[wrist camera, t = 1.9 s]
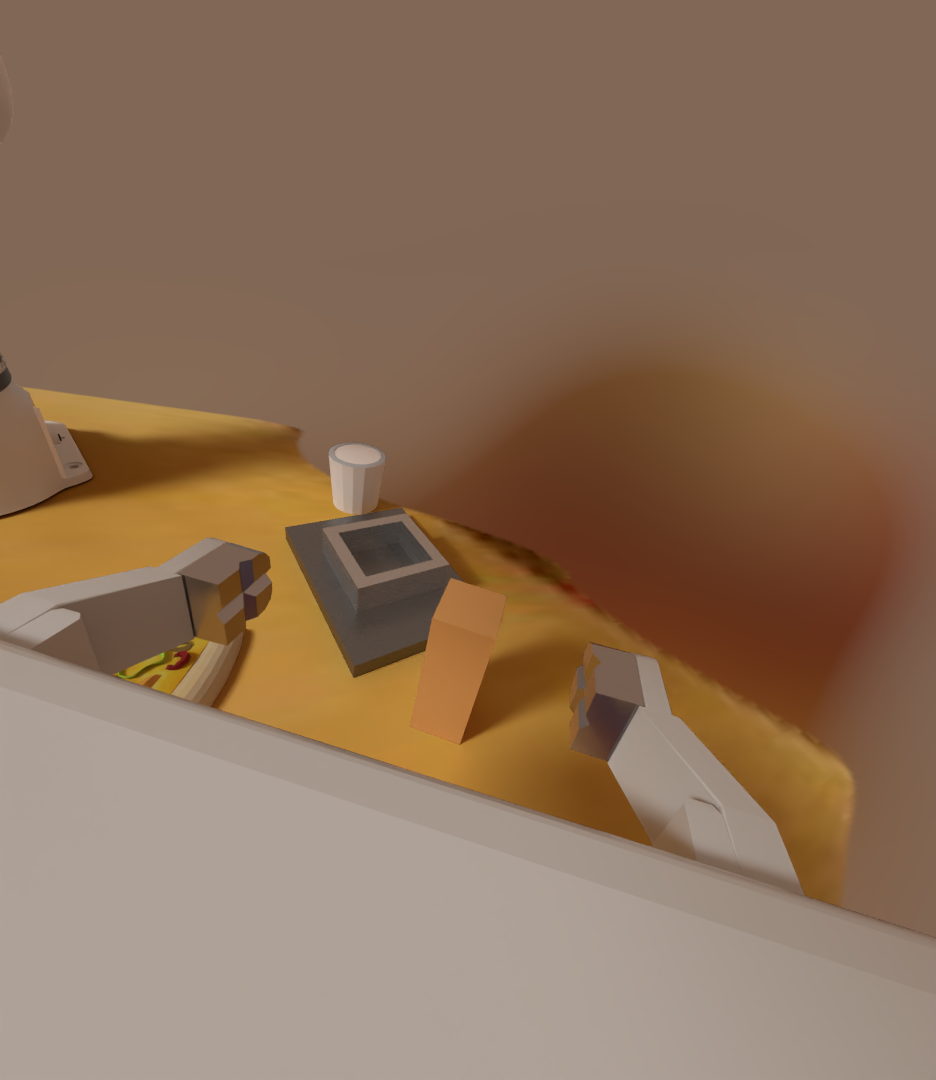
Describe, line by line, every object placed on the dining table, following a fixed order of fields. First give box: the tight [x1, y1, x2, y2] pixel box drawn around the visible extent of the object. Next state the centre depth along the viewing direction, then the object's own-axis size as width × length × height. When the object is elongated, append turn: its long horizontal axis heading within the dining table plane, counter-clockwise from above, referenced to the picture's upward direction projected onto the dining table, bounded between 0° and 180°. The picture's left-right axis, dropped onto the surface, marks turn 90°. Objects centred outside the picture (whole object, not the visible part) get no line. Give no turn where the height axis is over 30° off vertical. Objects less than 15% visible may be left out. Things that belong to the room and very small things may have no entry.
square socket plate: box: [285, 508, 464, 677], centre depth 43 cm, size 20×14×4 cm
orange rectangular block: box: [410, 578, 507, 744], centre depth 30 cm, size 4×4×12 cm
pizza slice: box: [112, 631, 244, 707], centre depth 29 cm, size 16×21×3 cm
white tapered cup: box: [329, 442, 386, 514], centre depth 53 cm, size 7×7×7 cm
